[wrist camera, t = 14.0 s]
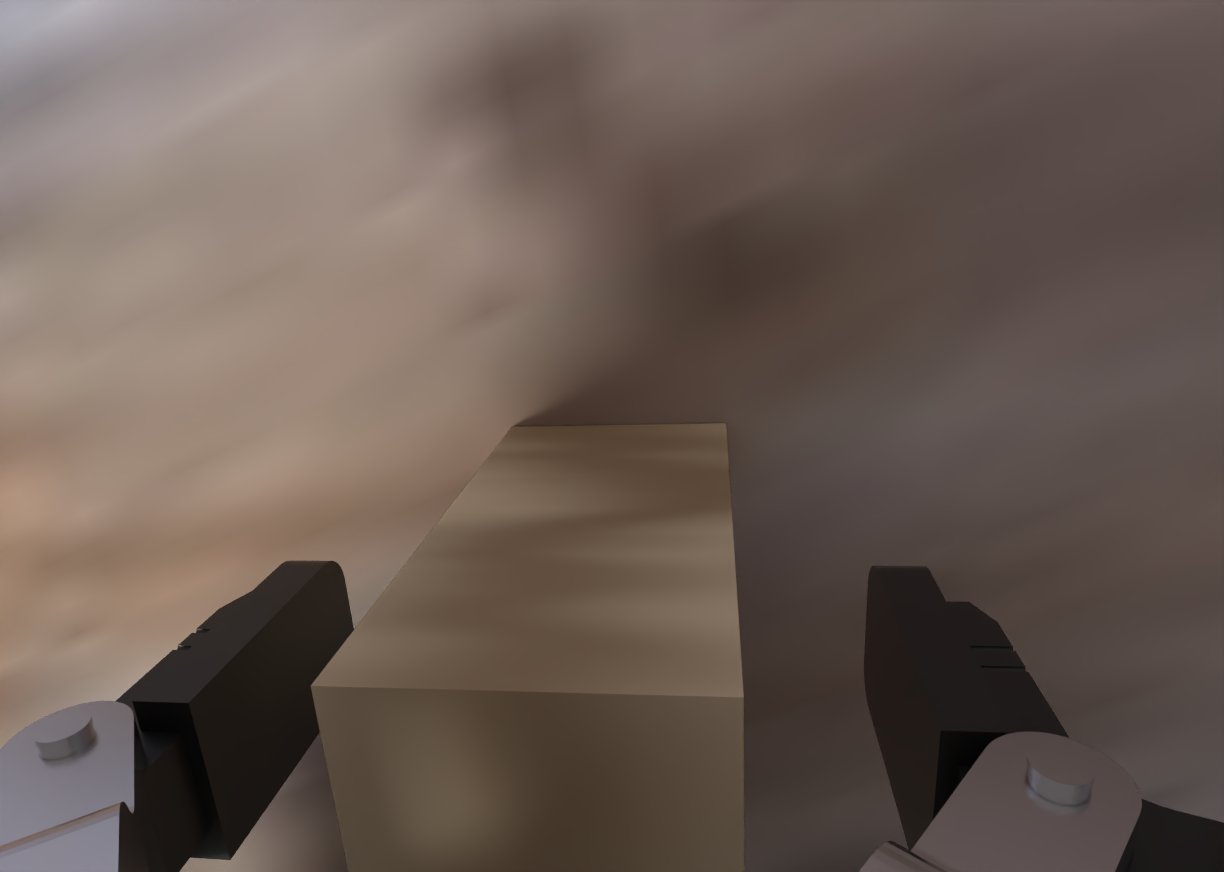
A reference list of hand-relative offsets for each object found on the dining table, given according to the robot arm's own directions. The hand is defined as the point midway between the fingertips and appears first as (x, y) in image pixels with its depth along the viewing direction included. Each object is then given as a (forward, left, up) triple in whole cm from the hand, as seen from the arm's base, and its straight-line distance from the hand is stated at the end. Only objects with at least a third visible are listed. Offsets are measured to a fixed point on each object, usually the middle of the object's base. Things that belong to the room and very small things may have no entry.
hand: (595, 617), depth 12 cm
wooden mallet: (0, +5, -4) cm, 6 cm away
